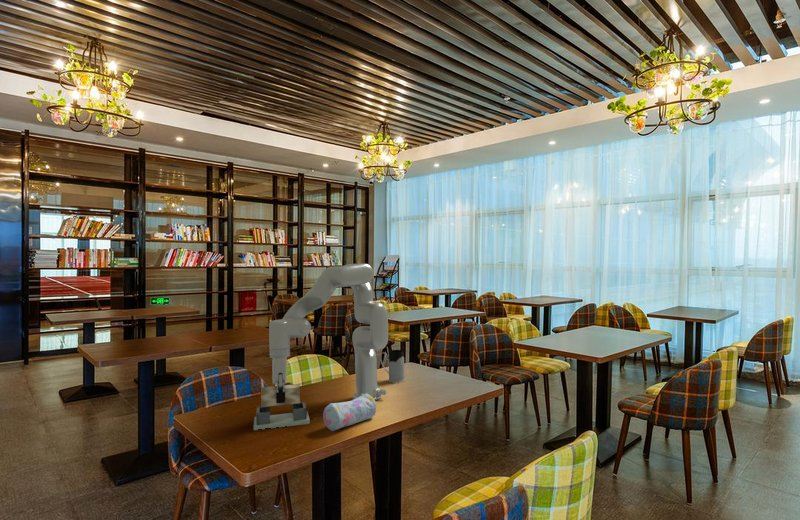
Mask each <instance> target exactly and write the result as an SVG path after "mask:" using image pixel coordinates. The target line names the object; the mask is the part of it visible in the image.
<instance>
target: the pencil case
mask: <svg viewBox="0 0 800 520" xmlns="http://www.w3.org/2000/svg"><path fill="white" fill-rule="evenodd" d="M376 413H377V404H376V400H374V398H373V397H372V396H370V395H369V394H367V393H365V394H363V393H362V394H361V395H360V396H359V397H357V398H356V399H351V400H349V401H342V402H333V403H332V402H331V403H329V404H328V405H326V407H324V410H323V413H322V418H323V419H322V420H323V422H324V424H325V426H326V427H327V428H328V430H330V431H331V432H335V431H338V430H340V429H342V428H345V427H349V426H351V425H352V426H353V425H355V424H358V423H361V422H363V421H367V420H370V419H371V418H373V417H374V416H375V415H376Z"/></svg>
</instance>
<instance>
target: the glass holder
mask: <svg viewBox="0 0 800 520" xmlns="http://www.w3.org/2000/svg"><path fill="white" fill-rule="evenodd" d="M382 354H384V355H385V356H386V361H387V362H388V369H387V368H386V367H385V366H384V364H383V360H382ZM404 356H405V355H404V350H402V349H391V350H388V354H387V352H381V353H380V356H379V360H380V363H381V366H382V368H383V369H384V370H385V371H386V372H387V373H388V381H389V382H388V383H390V382H395V383H394V384H399V383H398V382H402V383H405V382H406V381H405V380H406V378H405V377H406V376H405V357H404ZM404 381H405V382H404ZM396 382H397V383H396Z"/></svg>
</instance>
